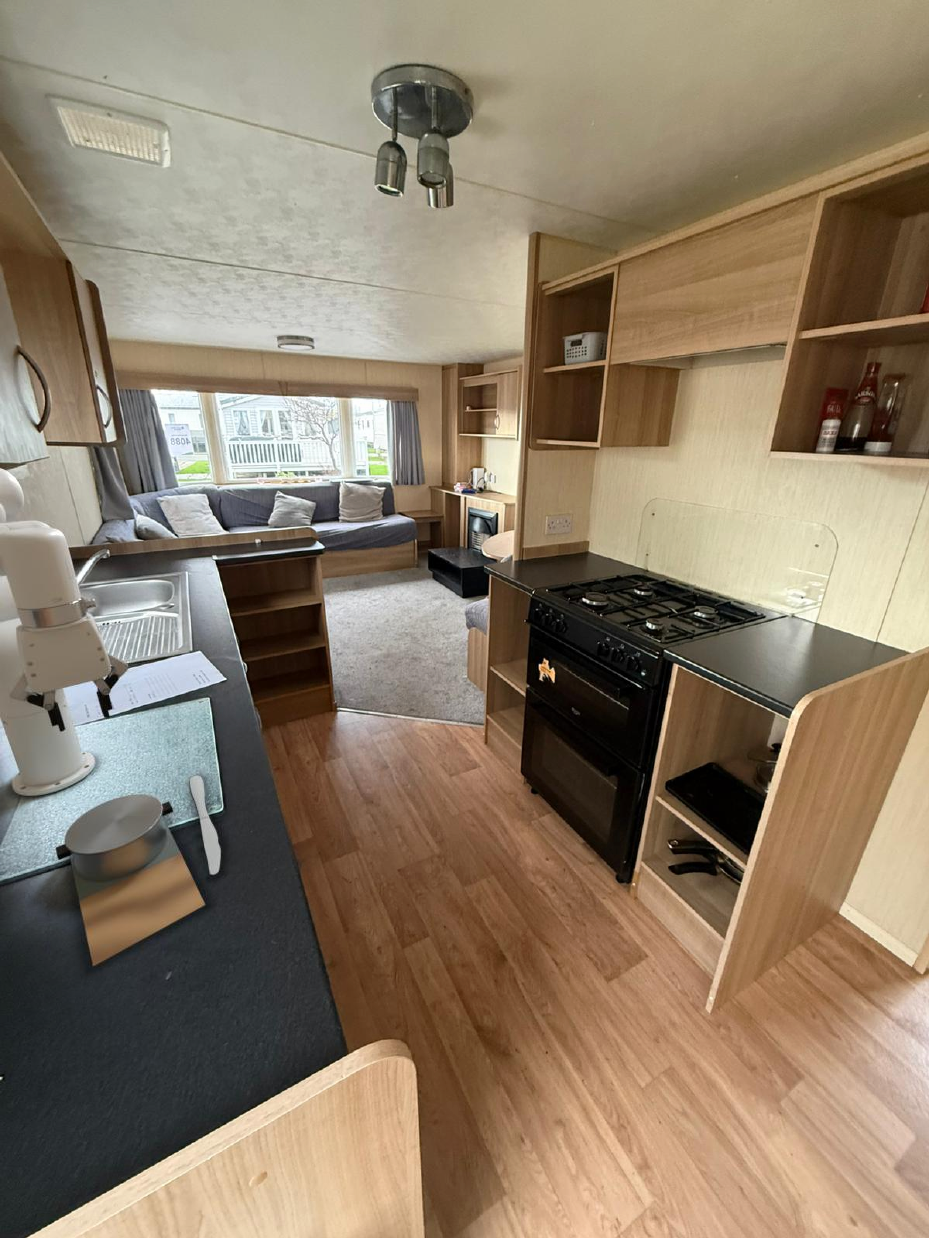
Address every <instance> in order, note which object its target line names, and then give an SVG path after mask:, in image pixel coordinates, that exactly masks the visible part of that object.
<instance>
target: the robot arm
mask: <svg viewBox="0 0 929 1238" xmlns="http://www.w3.org/2000/svg"><path fill="white" fill-rule="evenodd" d="M24 507H25V495H24V490H23V488H22V487H21V483H20V482H19V481H18V480H17V479H16V477H15V476H14V475H13V474H12V473H10V472H9V471H7V470H6V469H4V468H2V467H0V721H1V725H2V727H3V730H4V733H5V736H6V738H7V741H8V745H9V746H10V750H11V752H12V755H13V758H14V761H15V764H16V766H17V769H18V773H17V774H16V775H15V776H14V777H13V779H12V781H11V787H12V789H13V791H14V793H16V794H18V795H21V796H25V797H26V796H27V797H33V796H35V797H36V796H42V795H48V794H52V793H54V792H59V791H61V790H63V789H66V788H68V787H70V786H73V785H75V784H76V783H78V782H79V781H82V780H83V779H84V778H86V777H87V776H89V774H90V773H91V772H93V769H94V768H95V766H96V759H95V756H94V755H93V754H92V753H90V752H88V751H83V750H82V747H81V743H80V740H79V736H78V733H77V731H76V727H75V723H74V720H73V717H72V713H71V710H70V706H69V704H68V701H67V698H66V694H65V691H64V689H66V688H70V687H73V686H77V685H82V684H86V683H90V682H93V684H94V685H95V687H96V688H97V689H96V696H97V699H98V700H97V701H98V705H99V707H100V711H101V713H102V716H103V718H104V719H109V718H110V717H111V715H110V712H109V711H112V710H114V708H113V704H112V701H111V697H110V694H111V691H112V689H113V688H114V686H115V685H116V684H117V683H118V681H119V680H120V678H121V677H122V676H123V675H124V674H125V673H126V672H128V670H129V669H130V668H129V667H130V666H129V664H128V663H127V662H126V661H123V660H122V659H120V658H118V657H116V656H115V655H113V654H112V653H109V652H108V651H107V648H106V644H105V642H104V639H103V637H102V634H101V630H99V626H98V624H97V622H96V620H95V619H94V616H93V615H92V613H90V612H89V610H91V609H95V608H97V605H96V601H95V599H94V598H91V599H88V598H85V597H82V594H81V590H80V586H79V583H78V578H77V576H76V571H75V568H74V564H73V560H72V556H71V553H70V549H69V546H68V542H67V538H66V536H65V534H64V533H63V532H62V531H61V530H59V529H58V528H54V527H51V526H49V525H48V524H47V523H46V522H43V521H40V520H19V518H20V516H21V515H22V513H23V509H24ZM18 520H19V521H18ZM112 667H113V668H114V669H113V670H112Z"/></svg>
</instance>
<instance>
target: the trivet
mask: <svg viewBox="0 0 929 1238" xmlns="http://www.w3.org/2000/svg"><path fill="white" fill-rule="evenodd" d="M78 902H79V906H80V912H81V916H82V920H83V925H84V930H85V935H86V940H87V944H88V948H89V953H90V958H91V963H92V967H95V966H97V965H99V964H101V963H102V962H105V961H106V960H109V959H110V958H111V957H114V956H115V955H118V954H119V953H121V952H123V951H125V950H126V949H128V948H130V947H132V946H134V945H135V944H138V943H139V942H141V941H142V940H144V939H146V938H148V937H150V936H151V935H154V934H155V933H157V932H159V931H161V930H163V929H164V928H166V927H168V926H171V924H173V923H175V922H177V921H179V920H181V919H183V918H185V917H187V916H188V915H190V914H192V913H193V912H195V911H197V910H199V909H201V908H203V907H204V906H206V903H205V901H204V899H203V897H202V895H201V893H200V891H199V889H198V887H197V884H196V882H195V880H194V878H193V876H192V874H191V872H190V870H189V868H188V866H187V864H186V861H185V859H184V858H183V855H182V853H181V852H180V853H179V854H177V855H175V856H173V857H171V858H169V859H167V860H165V861H163V862H160V863H158V864H156V865H154V866H152V867H150V868H148V869H146V870H144V871H142V872H139V873H137V874H135V875H133V876H131V877H129V878H127V879H125V880H123V881H120V882H118V883H116V884H114V885H112V886H110V887H108V888H106V889H104V890H101V891H99V892H97V893H95V894H93V895H91V896H89V897H87V898H85V899H82V900H80V901H79V900H78Z"/></svg>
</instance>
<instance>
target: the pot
mask: <svg viewBox="0 0 929 1238" xmlns="http://www.w3.org/2000/svg"><path fill="white" fill-rule="evenodd" d="M172 813H174V808H173V806H172V804H171V802H170V801H169V800H168V801H166V802H163V803H162V802H161V800H160V799H159V798H157V797H155V796H153V795H149V794H141V793H140V794H139V793H136V794H129V795H124V796H120V797H119V796H118V797H116V798H113V799H110V800H107V801H105V802H103V803H100V804H98V805H96V806H94V807H92V808H91V809H89V810H87V811H86V812H85V813H83V814H81V816H79V817H78V818H77V819H76V820H75V821H74V822H73V823H72V824H71V825H70V827H68V829H67V831H66V832H65V836H64V843H63V844H60V845H58V846H56V847H55V852H56V857H57V860H58V861H61V860H63V859H65V858H68V857H70V855H72V857H73V860H74V863H75V866H76V869H77V871H78V874H79V875H80V876H81V877H82V878H83V879H85V880H88V881H93V882H104V881H110V880H115V879H118V878H121V877H124V876H127V875H129V874H132V873H134V872H135V871H137V870H139V869H141V868H143V867H144V866H146V865H147V864H148V863H150V862H151V861H152V860H153V859H154V858H155V857H156V856H157V855H158V854H159V853H160V852H161V851H162V849H163V848H164V846H165V844H166V841H167V832H166V828H165V824H164V820H163V817H165V816H168V815H170V814H172Z"/></svg>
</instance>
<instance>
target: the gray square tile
mask: <svg viewBox="0 0 929 1238" xmlns="http://www.w3.org/2000/svg"><path fill="white" fill-rule="evenodd" d="M164 817H165V816H163V820H164V824H165V828H166V832H167V841H166V844H165V846H164V848H163V849H162V851H161V852H160V853H159V854H158V855H157V856H156V857H155V858H154V859H153V860H152V861H151V862H150V863H148V864H147V865H146V866H144V867H143V868H141V869H139V870H137V871H135V872H134V873H132V874H129V875H127V876H124V877H121V878H118V879H115V880H110V881H104V882H93V881H88V880H85V879H83V878H82V877H81V876H80V875H79V874H78V871H77V869H76V866H75V863H74V860H73V857H72V855H70V856H69V861H70V864H71V869H72V873H73V878H74V884H75V887H76V892H77V897H78V902H79V901H80V900H82V899H85V898H87V897H89V896H91V895H93V894H95V893H97V892H99V891H101V890H104V889H106V888H108V887H110V886H112V885H114V884H116V883H118V882H120V881H123V880H125V879H127V878H129V877H131V876H133V875H135V874H137V873H139V872H142V871H144V870H146V869H148V868H150V867H152V866H154V865H156V864H158V863H160V862H163V861H165V860H167V859H169V858H171V857H173V856H175V855H177V854H179V853H181V851H180V849H179V847H178V845H177V843H176V841H175V839H174V836H173V834H172V833H171V829H170V828H169V826H168V824H167V822H166V820H165V818H164Z"/></svg>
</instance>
